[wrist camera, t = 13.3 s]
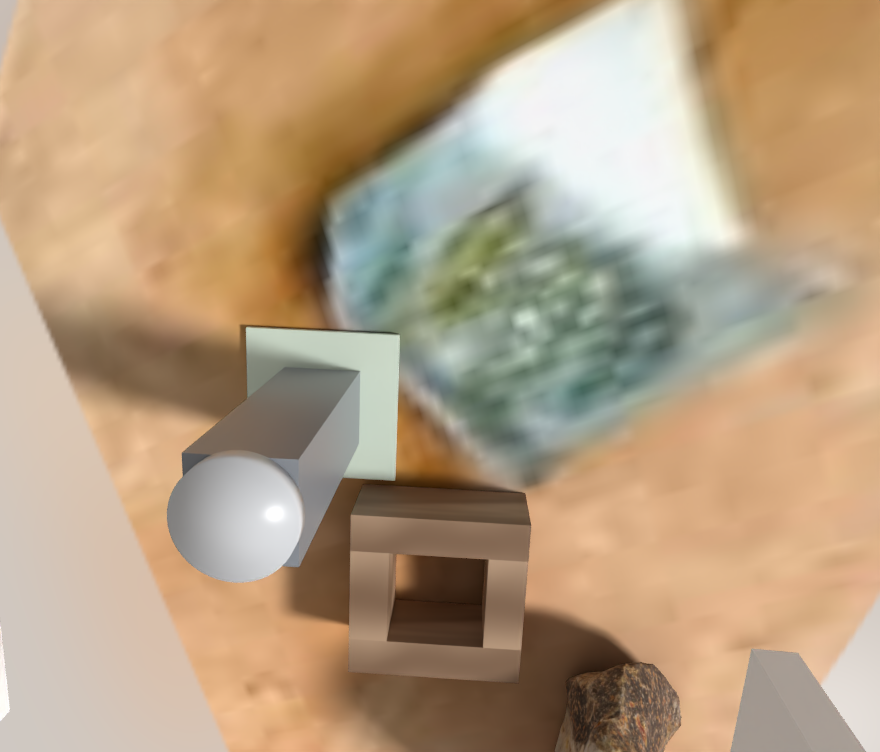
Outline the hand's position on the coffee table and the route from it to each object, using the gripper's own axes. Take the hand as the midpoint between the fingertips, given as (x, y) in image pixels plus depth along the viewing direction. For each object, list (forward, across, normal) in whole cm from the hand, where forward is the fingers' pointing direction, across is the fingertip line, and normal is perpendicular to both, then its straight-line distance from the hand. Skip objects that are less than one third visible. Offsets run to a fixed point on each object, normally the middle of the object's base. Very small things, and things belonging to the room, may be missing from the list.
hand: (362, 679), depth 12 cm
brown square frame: (+29, 0, -14) cm, 33 cm away
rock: (+29, +12, -25) cm, 40 cm away
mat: (+29, -7, -4) cm, 31 cm away
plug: (+29, -7, -4) cm, 30 cm away
